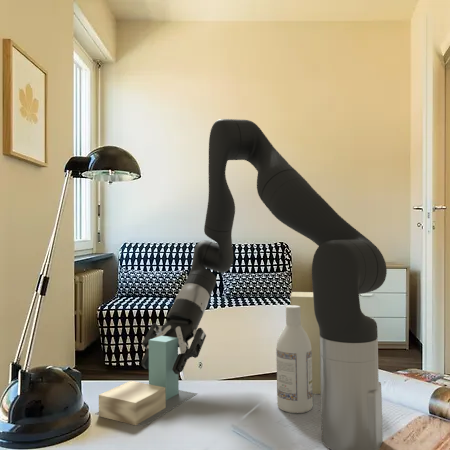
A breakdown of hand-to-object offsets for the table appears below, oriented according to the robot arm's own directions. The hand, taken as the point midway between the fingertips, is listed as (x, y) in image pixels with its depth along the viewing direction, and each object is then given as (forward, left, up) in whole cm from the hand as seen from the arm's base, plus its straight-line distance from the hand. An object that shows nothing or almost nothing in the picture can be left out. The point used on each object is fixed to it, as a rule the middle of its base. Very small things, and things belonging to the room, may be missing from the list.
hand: (159, 369), depth 90 cm
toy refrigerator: (-26, -20, -6) cm, 34 cm away
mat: (0, +4, -6) cm, 7 cm away
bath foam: (-27, -8, -6) cm, 29 cm away
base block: (0, +9, -6) cm, 10 cm away
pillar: (0, -1, -6) cm, 6 cm away
